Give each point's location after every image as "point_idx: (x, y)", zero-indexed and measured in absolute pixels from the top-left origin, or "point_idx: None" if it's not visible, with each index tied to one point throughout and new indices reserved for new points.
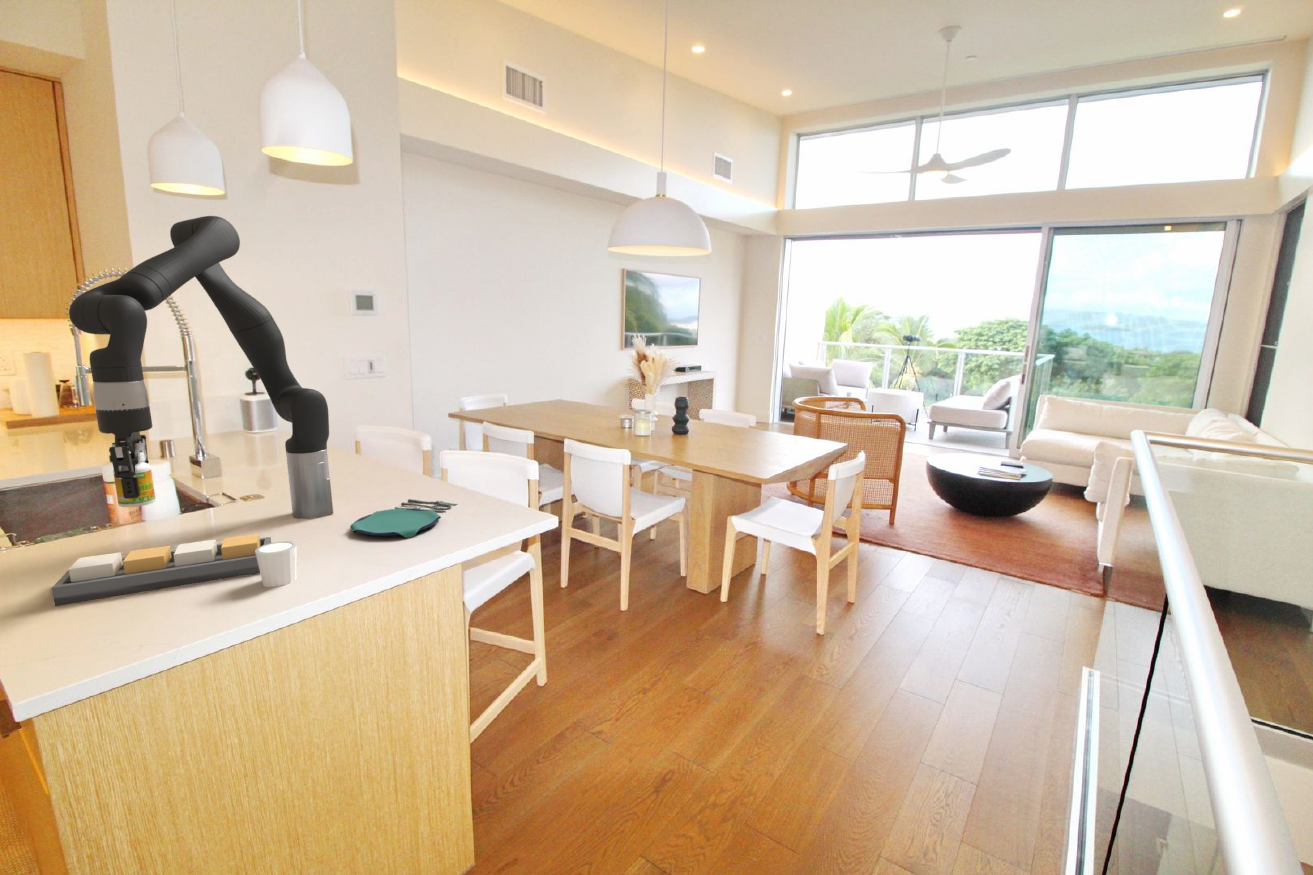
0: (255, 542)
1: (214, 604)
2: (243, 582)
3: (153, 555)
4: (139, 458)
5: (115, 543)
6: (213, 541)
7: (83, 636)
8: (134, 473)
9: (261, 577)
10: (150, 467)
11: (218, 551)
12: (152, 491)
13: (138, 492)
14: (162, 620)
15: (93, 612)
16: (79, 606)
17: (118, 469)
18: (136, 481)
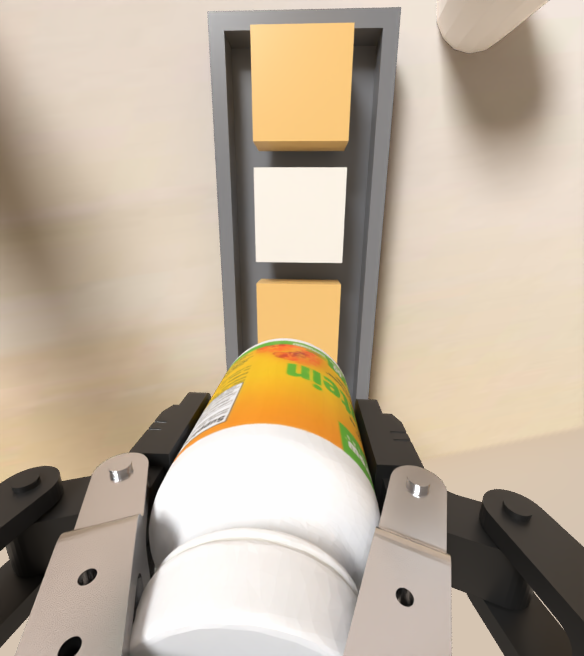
0: (348, 29)
1: (536, 160)
2: (430, 106)
3: (324, 308)
4: (392, 595)
5: (26, 408)
6: (271, 171)
7: (535, 362)
8: (514, 504)
9: (493, 40)
10: (259, 434)
11: (234, 177)
12: (302, 357)
13: (380, 409)
14: (554, 251)
15: (426, 370)
16: (380, 395)
17: (530, 632)
18: (396, 452)
